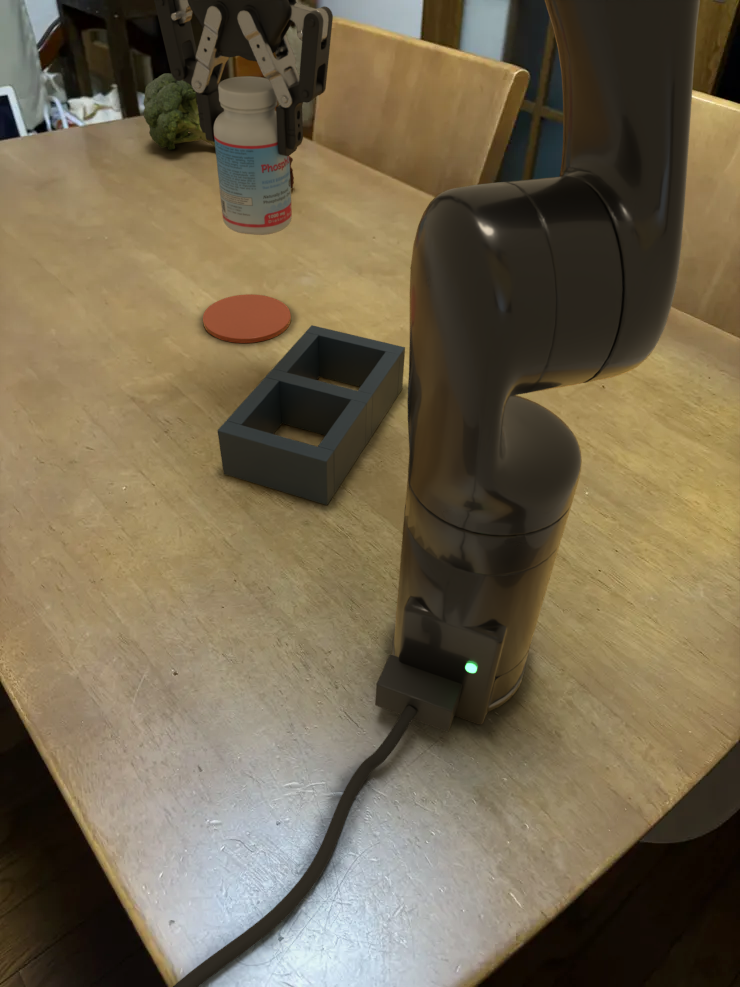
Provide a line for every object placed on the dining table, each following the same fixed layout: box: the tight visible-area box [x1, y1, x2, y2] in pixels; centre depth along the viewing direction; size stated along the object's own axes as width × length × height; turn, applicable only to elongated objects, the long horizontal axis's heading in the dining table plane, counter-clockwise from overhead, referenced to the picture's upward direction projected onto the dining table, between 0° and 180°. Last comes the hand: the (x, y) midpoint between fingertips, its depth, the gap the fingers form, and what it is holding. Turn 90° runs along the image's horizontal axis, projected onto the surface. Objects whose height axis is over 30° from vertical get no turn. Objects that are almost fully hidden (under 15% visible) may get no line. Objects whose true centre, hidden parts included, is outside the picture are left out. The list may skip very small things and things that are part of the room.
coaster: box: [202, 293, 292, 344], centre depth 86 cm, size 10×10×1 cm
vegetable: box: [143, 72, 215, 151], centre depth 124 cm, size 12×13×15 cm
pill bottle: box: [214, 75, 293, 236], centre depth 63 cm, size 6×6×11 cm
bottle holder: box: [217, 324, 406, 506], centre depth 71 cm, size 19×10×5 cm, turn 158°
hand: (252, 145), depth 62 cm, fingers closed on pill bottle, 6 cm apart
